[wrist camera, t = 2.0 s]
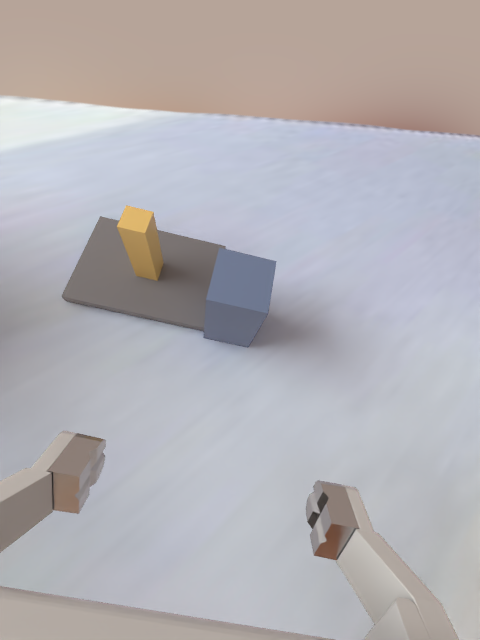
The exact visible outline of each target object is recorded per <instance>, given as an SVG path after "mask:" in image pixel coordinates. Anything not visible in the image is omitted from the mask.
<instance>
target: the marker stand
mask: <svg viewBox="0 0 480 640" xmlns="http://www.w3.org/2000/svg"><path fill="white" fill-rule="evenodd" d="M225 247H226V246H222V245H218V244H214V243H209V242H205V241H201V240H197V239H193V238H188V237H184V236H180V235H176V234H172V233H168V232H163V231H159V230H157V228H156V223H155V218H154V213H153V212H151V211H147V210H143V209H139V208H135V207H131V206H127V205H126V207H125V209H124V212H123V214H122V216H121V218H120V221H117V220H113V219H109V218H105V217H101V216H100V218H99V220H98V222H97V224H96V226H95V228H94V230H93V232H92V235H91V237H90V239H89V241H88V243H87V245H86V247H85V249H84V251H83V253H82V255H81V257H80V259H79V261H78V263H77V265H76V267H75V270H74V272H73V274H72V276H71V278H70V280H69V282H68V284H67V286H66V288H65V290H64V292H63V294H62V297H63V298H64V299H65V300H66V301H69V302H74V303H78V304H83V305H87V306H92V307H96V308H101V309H105V310H110V311H115V312H119V313H124V314H128V315H133V316H137V317H142V318H146V319H151V320H155V321H160V322H165V323H169V324H174V325H178V326H183V327H187V328H192V329H196V330H201V331H204V324H205V308H206V298H207V294H208V290H209V286H210V282H211V278H212V274H213V271H214V267H215V263H216V259H217V255H218V251H219V248H222V249H225Z"/></svg>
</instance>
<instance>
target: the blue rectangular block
mask: <svg viewBox="0 0 480 640" xmlns="http://www.w3.org/2000/svg"><path fill="white" fill-rule="evenodd" d="M275 267H276V261H273V260H268V259H264V258H260V257H256V256H252V255H248V254H243V253H239V252H235V251H231V250H227V249H222V248H219V251H218V255H217V259H216V263H215V267H214V271H213V274H212V278H211V282H210V286H209V290H208V294H207V298H206V308H205V324H204V338H207V339H212V340H216V341H221V342H225V343H230V344H235V345H239V346H244V347H249V345H250V343H251V342H252V340H253V338H254V337H255V335H256V333H257V332H258V330H259V328H260V326H261V325H262V323H263V321H264V320H265V318H266V316H267V315H268V311H269V305H270V299H271V292H272V286H273V279H274V273H275Z"/></svg>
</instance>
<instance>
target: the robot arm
mask: <svg viewBox="0 0 480 640" xmlns="http://www.w3.org/2000/svg"><path fill="white" fill-rule="evenodd" d="M105 447H106V440H105V439H101V438H96V437H92V436H87V435H83V434H78V433H73V432H68V431H63V432H61V433H60V434H59V435H58V436H57V437H56V438H55V440H54V441H53V442H52V443H51V444H50V446H49V447H48V448H47V449H46V450H45V452H44V453H43V454H42V455H41V456H40V458H39V459H38V460H37V461H36V462H35V464H34V465H33V466H32V467H31V468H25V469H23V470H21V471H19V472H17V473H15V474H13V475H11V476H9V477H8V478H6V479H4V480H2V481H0V553H1V552H2V551H3V550H4V549H6V548H7V547H8V546H9V545H11V544H12V543H13V542H15V541H16V540H17V539H18V538H20V537H21V536H22V535H24V534H25V533H26V532H27V531H29V530H30V529H31V528H33V527H34V526H35V525H36V524H38V523H39V522H40V521H42V520H43V519H44V518H45V517H47V516H48V515H49V514H51V513H52V512H53V510H56V511H63V512H70V513H77V514H79V513H80V511H81V509H82V507H83V505H84V504H85V502H86V500H87V498H88V496H89V491H90V487H91V486H92V485H94V484H95V483H96V482H97V480H98V478H99V476H100V474H101V471H102V469H103V465H104V461H105V455H104V453H103V450H104V449H105ZM313 488H314V492H313V493H311V494H309V497H308V499H307V504H306V516H307V522H308V523H309V525H310V526H311V528H312V529H313V530H312V532H311V534H310V538H311V544H312V549H313V554H314V556H319V557H323V558H328V559H333V560H337V561H336V562H337V564H338V565H339V567H340V569H341V570H342V572H343V573H344V575H345V577H346V578H347V580H348V582H349V583H350V585H351V587H352V588H353V590H354V591H355V593H356V595H357V596H358V598H359V600H360V601H361V603H362V604H363V606H364V608H365V609H366V611H367V613H368V614H369V616H370V617H371V619H372V621H373V622H374V624H375V625H374V627H373V628H372V629H371V630H370V631H369V633H368V634H367V635H366V637H365V639H364V640H459V639H458V637H457V635H456V633H455V631H454V629H453V627H452V625H451V623H450V621H449V618H448V616H447V614H446V612H445V610H444V608H443V606H442V604H441V603H440V602H439V600H438V599H437V598H436V597H435V596H434V595H433V594H432V593H431V592H430V590H429V589H428V588H427V587H426V586H425V585H424V584H423V583H422V581H421V580H420V579H419V578H418V577H417V576H416V575H415V574H414V572H413V571H412V570H411V569H410V568H409V567H408V566H407V565H406V564H405V562H404V561H403V560H402V559H401V558H400V557H399V556H398V555H397V553H396V552H395V551H394V550H393V549H392V548H391V547H390V546H389V545H388V543H387V542H386V541H385V540H384V539H383V538H382V537H381V536H380V534H379V533H376V532H374V530H373V527H372V525H371V522H370V520H369V517H368V515H367V512H366V509H365V507H364V504H363V502H362V499H361V497H360V494H359V492H358V490H357V489H356V487H350V486H345V485H341V484H336V483H330V482H324V481H319V480H318V481H316V482H315V484H314V486H313ZM0 640H334V639H328V638H322V637H316V636H309V635H303V634H297V633H291V632H284V631H278V630H272V629H266V628H259V627H253V626H247V625H241V624H235V623H228V622H222V621H216V620H210V619H203V618H197V617H191V616H184V615H178V614H172V613H166V612H159V611H153V610H147V609H141V608H134V607H128V606H122V605H116V604H109V603H103V602H97V601H90V600H84V599H78V598H72V597H65V596H59V595H53V594H46V593H40V592H34V591H28V590H21V589H15V588H9V587H2V586H0Z"/></svg>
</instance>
